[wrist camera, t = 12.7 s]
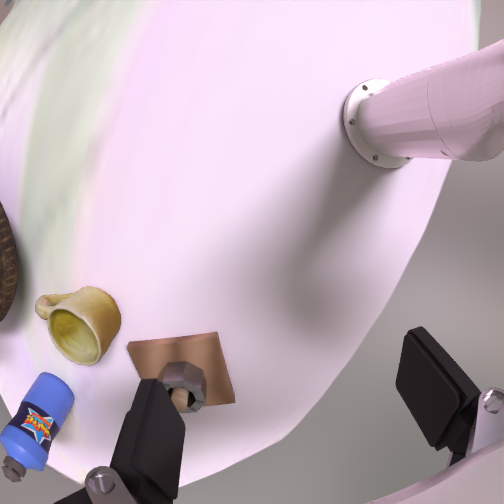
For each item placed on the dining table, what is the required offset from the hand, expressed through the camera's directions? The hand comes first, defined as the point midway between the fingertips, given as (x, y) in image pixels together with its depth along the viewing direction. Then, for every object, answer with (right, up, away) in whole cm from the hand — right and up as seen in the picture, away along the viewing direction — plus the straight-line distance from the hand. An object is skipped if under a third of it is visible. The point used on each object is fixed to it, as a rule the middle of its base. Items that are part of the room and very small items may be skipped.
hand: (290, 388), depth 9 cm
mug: (-26, -3, +27) cm, 38 cm away
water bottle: (-41, -23, +32) cm, 57 cm away
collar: (-12, -15, +30) cm, 36 cm away
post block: (-12, -14, +32) cm, 37 cm away
